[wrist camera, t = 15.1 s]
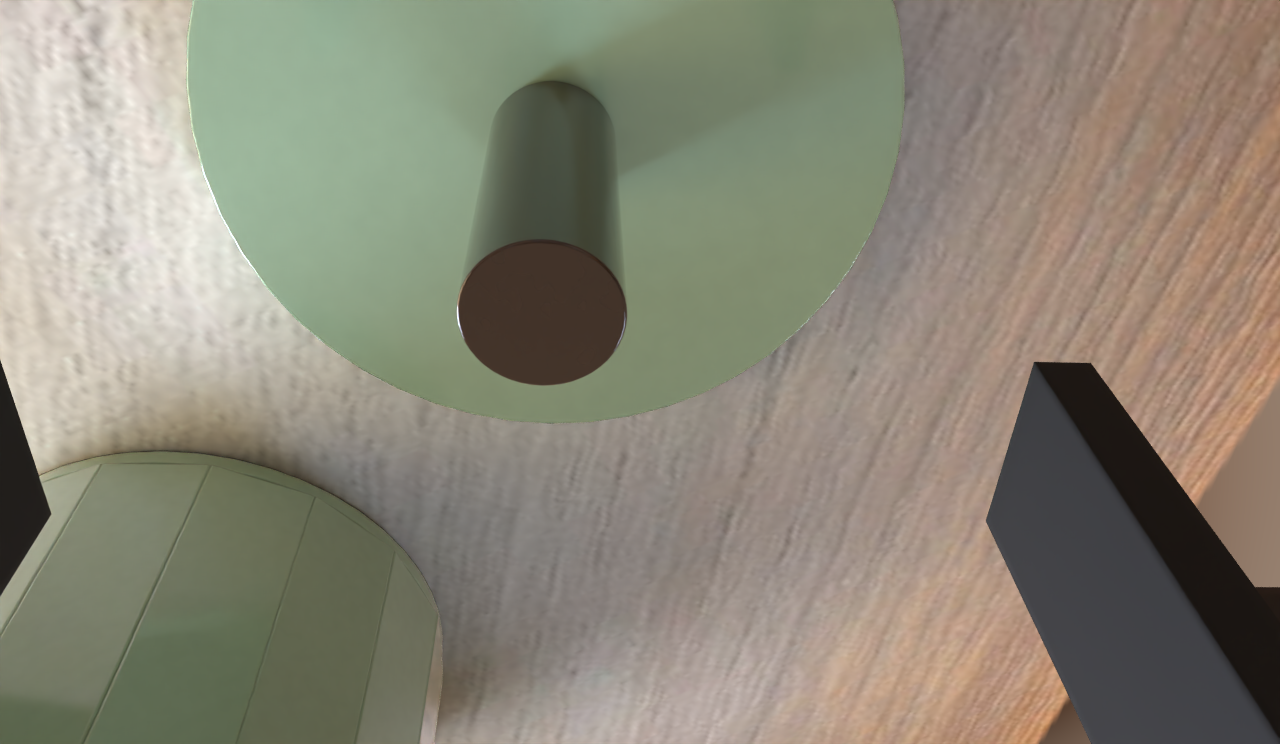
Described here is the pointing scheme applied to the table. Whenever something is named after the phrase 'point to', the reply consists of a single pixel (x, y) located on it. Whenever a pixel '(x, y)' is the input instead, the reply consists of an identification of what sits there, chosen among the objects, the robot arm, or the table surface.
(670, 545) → the table surface
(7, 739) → the pot
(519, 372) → the lid
